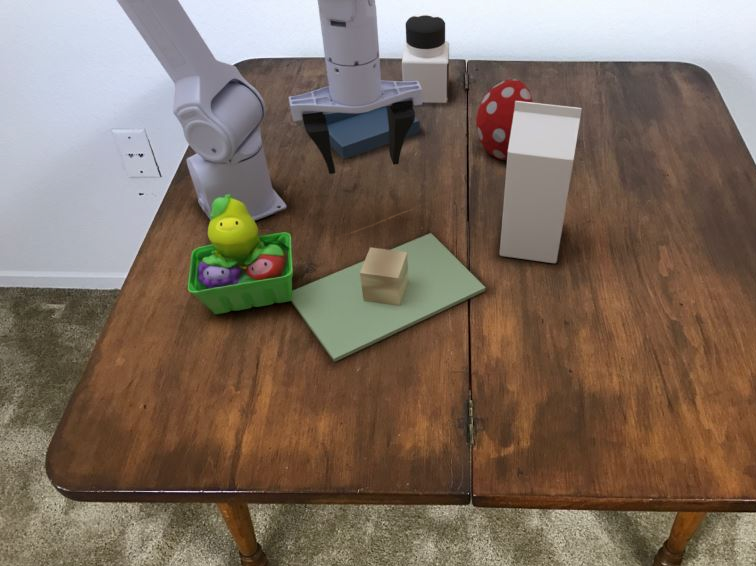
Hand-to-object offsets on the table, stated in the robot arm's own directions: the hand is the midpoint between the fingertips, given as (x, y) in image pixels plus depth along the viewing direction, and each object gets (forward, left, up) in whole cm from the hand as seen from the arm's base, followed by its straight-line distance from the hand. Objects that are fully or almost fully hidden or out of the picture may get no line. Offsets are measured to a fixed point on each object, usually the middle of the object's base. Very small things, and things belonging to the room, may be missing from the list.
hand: (362, 164), depth 81 cm
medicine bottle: (+25, +25, -10) cm, 36 cm away
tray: (+11, +20, -9) cm, 24 cm away
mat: (-4, -12, -9) cm, 16 cm away
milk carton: (+16, -14, -10) cm, 23 cm away
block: (-4, -12, -9) cm, 16 cm away
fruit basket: (-17, -3, -9) cm, 20 cm away
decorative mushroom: (+28, +3, -10) cm, 29 cm away
